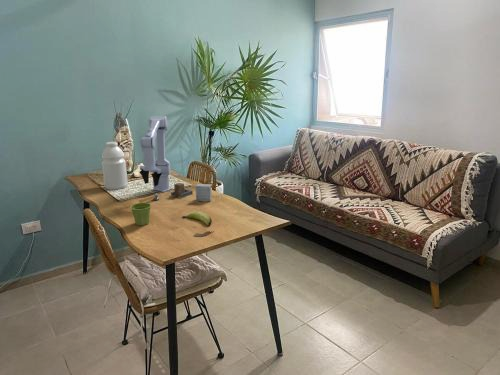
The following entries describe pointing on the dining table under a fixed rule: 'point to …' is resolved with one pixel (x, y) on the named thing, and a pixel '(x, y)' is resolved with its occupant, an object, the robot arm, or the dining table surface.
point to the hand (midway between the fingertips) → (151, 184)
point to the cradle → (187, 192)
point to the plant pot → (141, 213)
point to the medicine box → (203, 192)
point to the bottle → (114, 167)
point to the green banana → (201, 217)
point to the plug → (179, 189)
